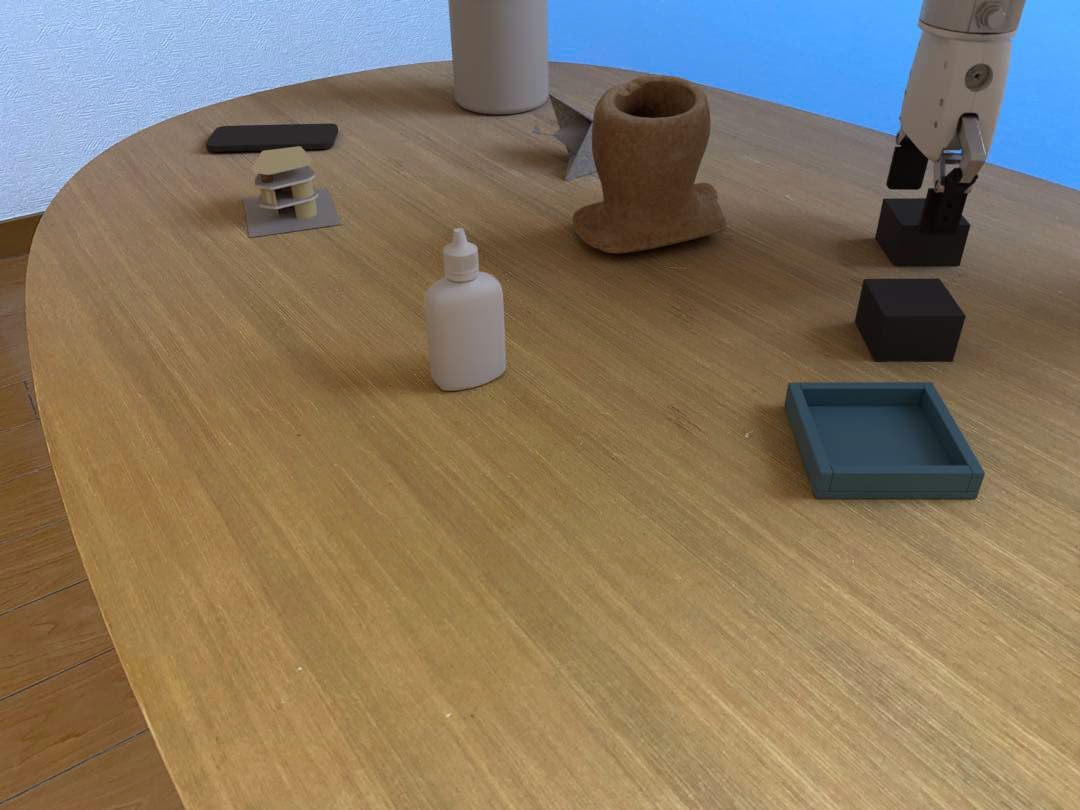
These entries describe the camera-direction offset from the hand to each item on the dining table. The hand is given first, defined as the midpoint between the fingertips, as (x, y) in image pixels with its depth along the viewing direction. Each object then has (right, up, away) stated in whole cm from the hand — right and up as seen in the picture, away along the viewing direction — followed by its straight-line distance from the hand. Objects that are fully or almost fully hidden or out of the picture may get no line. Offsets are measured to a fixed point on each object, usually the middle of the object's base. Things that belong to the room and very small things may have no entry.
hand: (918, 209), depth 85 cm
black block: (-6, -13, -11) cm, 18 cm away
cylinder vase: (-39, +23, +41) cm, 61 cm away
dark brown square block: (+1, -3, +2) cm, 4 cm away
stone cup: (-23, -2, +5) cm, 24 cm away
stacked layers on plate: (-60, +2, +12) cm, 61 cm away
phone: (-67, +14, +29) cm, 74 cm away
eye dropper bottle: (-40, -16, -14) cm, 45 cm away
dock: (-12, -21, -22) cm, 33 cm away
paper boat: (-31, +10, +23) cm, 40 cm away
